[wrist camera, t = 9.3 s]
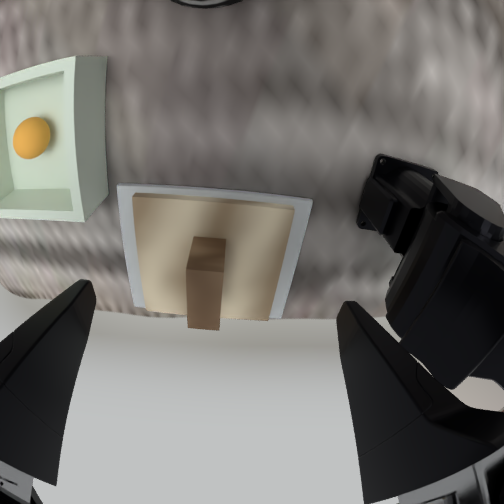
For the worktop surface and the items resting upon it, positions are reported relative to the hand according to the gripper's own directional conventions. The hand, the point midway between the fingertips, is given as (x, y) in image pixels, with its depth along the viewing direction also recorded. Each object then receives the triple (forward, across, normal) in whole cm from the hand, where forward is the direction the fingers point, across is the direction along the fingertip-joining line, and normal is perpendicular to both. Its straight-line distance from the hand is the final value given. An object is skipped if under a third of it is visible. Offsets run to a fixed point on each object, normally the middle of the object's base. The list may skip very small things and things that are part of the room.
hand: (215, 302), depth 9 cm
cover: (+12, +1, +8) cm, 15 cm away
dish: (+13, +15, -3) cm, 20 cm away
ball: (+11, +15, -3) cm, 19 cm away
